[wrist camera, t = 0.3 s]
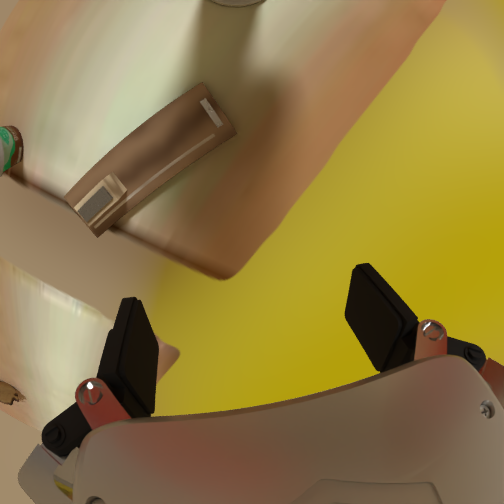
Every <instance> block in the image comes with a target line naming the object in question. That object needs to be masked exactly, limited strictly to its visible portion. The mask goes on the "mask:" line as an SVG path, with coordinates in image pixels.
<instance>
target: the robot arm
mask: <svg viewBox="0 0 504 504" xmlns="http://www.w3.org/2000/svg"><path fill="white" fill-rule="evenodd" d="M211 1H213V2H215V3H218V4H221V5H226V6H235V7H238V6H247V5H252V4H255V3H257V2H259V1H261V0H211ZM345 318H346V321H347V322H348V324H349V326H350V327H351V329H352V330H353V332H354V334H355V335H356V337H357V339H358V340H359V342H360V344H361V345H362V347H363V349H364V350H365V352H366V354H367V355H368V357H369V359H370V361H371V362H372V364H373V366H374V367H375V369H376V370H377V371H380V373H379V374H377V375H374V376H371V377H368V378H365V379H362V380H359V381H356V382H353V383H350V384H347V385H343V386H340V387H336V388H333V389H329V390H326V391H323V392H318V393H315V394H311V395H307V396H303V397H299V398H295V399H290V400H285V401H281V402H275V403H271V404H265V405H259V406H254V407H248V408H241V409H235V410H228V411H219V412H210V413H200V414H188V415H175V416H158V417H151V414H153V413H154V411H155V393H156V378H157V365H158V354H159V346H158V342H157V340H156V337H155V335H154V332H153V330H152V327H151V325H150V322H149V320H148V317H147V315H146V312H145V310H144V307H143V304H142V302H141V300H137V298H136V297H130V298H123V299H122V301H121V305H120V308H119V311H118V314H117V317H116V320H115V323H114V327H113V329H111V330H110V331H109V333H108V336H107V339H106V343H105V346H104V350H103V354H102V357H101V361H100V365H99V369H98V373H97V377H96V378H89V379H86V380H84V381H83V382H82V383H80V384H79V386H78V387H77V389H76V392H75V399H76V402H75V403H74V404H73V405H71V406H70V407H69V408H67V409H66V410H65V411H63V412H62V413H61V414H60V415H58V416H57V417H56V418H54V419H53V420H52V421H50V422H49V423H48V424H47V425H46V426H45V427H44V429H43V431H42V442H43V443H42V444H41V445H39V444H38V445H37V446H36V447H35V449H34V450H33V452H32V453H31V454H30V456H29V457H28V459H27V460H26V462H25V463H24V465H23V466H22V468H21V469H20V471H19V473H18V481H19V484H20V486H21V488H22V489H23V490H24V491H25V492H26V494H27V495H28V496H29V497H30V498H31V499H32V500H33V501H34V502H35V504H504V366H503V365H501V364H499V363H498V362H496V361H494V360H492V359H491V358H488V359H486V356H485V354H484V351H483V350H482V349H481V348H480V347H479V346H477V345H475V344H472V343H468V342H465V341H461V340H458V339H454V338H451V337H448V336H447V332H446V329H445V327H444V326H443V325H442V324H441V323H439V322H438V321H435V320H430V319H427V320H423V321H421V322H420V323H419V321H418V320H417V319H418V317H417V316H416V315H415V314H414V313H413V311H412V310H411V309H410V308H409V307H408V306H407V304H406V303H405V302H404V301H403V300H402V299H401V298H400V296H399V295H398V294H397V293H396V292H395V291H394V290H393V288H392V287H391V286H390V285H389V284H388V283H387V282H386V281H385V280H384V279H383V277H381V275H380V274H379V273H378V272H377V271H376V270H375V269H374V268H373V267H372V266H371V265H370V264H369V263H363V264H358V265H356V267H355V268H354V269H353V271H352V276H351V281H350V287H349V293H348V298H347V303H346V308H345Z"/></svg>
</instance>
